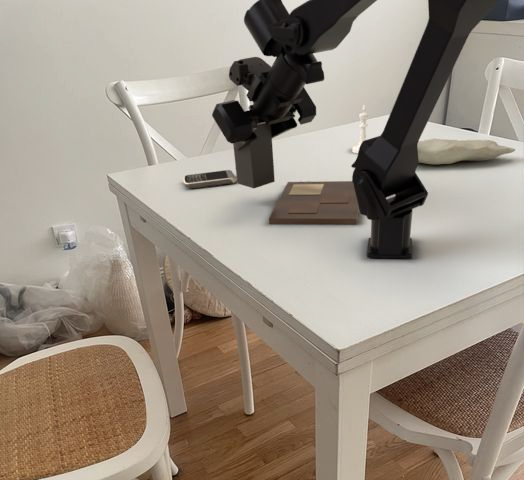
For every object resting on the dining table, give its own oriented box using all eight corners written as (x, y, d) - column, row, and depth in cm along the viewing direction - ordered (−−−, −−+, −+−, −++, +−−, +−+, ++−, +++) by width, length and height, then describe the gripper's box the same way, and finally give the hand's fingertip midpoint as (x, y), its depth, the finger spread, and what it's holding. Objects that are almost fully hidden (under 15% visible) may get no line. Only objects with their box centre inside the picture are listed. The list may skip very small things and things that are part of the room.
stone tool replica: (390, 166, 110) (522, 163, 104) (391, 139, 108) (526, 134, 103) (390, 164, 123) (506, 161, 118) (391, 140, 122) (510, 136, 116)
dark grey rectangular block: (274, 181, 99) (270, 112, 93) (253, 188, 97) (247, 117, 90) (257, 176, 103) (252, 109, 96) (237, 183, 100) (229, 114, 94)
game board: (356, 224, 90) (356, 218, 89) (269, 224, 93) (268, 218, 93) (363, 186, 106) (363, 180, 105) (288, 186, 109) (287, 181, 109)
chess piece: (350, 153, 126) (351, 107, 120) (353, 147, 130) (354, 102, 124) (371, 153, 124) (373, 106, 119) (374, 147, 128) (376, 102, 123)
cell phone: (183, 182, 117) (182, 175, 116) (233, 175, 118) (233, 169, 117) (184, 190, 112) (183, 183, 111) (237, 183, 113) (236, 177, 112)
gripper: (302, 31, 89) (265, 98, 102) (210, 46, 80) (182, 118, 93) (337, 87, 88) (295, 147, 101) (248, 108, 79) (214, 171, 92)
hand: (248, 144), depth 97 cm, fingers closed on dark grey rectangular block, 5 cm apart
